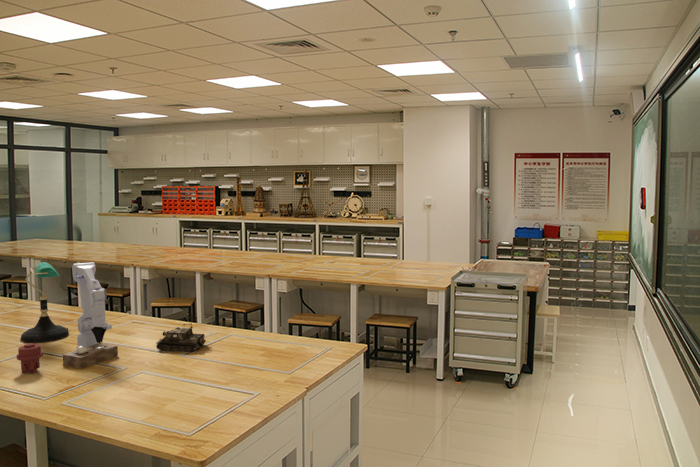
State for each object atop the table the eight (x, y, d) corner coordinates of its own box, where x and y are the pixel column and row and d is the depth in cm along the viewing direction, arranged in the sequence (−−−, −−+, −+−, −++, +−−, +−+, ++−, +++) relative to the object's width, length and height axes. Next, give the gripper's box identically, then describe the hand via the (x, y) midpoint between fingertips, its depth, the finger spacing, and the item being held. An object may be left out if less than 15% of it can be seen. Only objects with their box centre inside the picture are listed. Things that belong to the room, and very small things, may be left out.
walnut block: (63, 365, 239) (62, 354, 238) (99, 352, 257) (99, 342, 256) (81, 368, 234) (81, 357, 233) (117, 356, 252) (117, 345, 252)
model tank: (166, 344, 273) (166, 315, 272) (208, 345, 271) (207, 316, 270) (155, 351, 260) (154, 322, 259) (198, 352, 258) (198, 323, 257)
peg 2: (93, 357, 249) (93, 347, 248) (100, 355, 252) (100, 345, 252) (99, 358, 247) (99, 349, 247) (106, 356, 251) (106, 346, 250)
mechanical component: (32, 366, 236) (49, 369, 233) (11, 374, 227) (28, 376, 223) (31, 340, 235) (47, 342, 232) (10, 346, 226) (27, 348, 222)
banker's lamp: (71, 339, 280) (68, 265, 277) (21, 346, 267) (17, 269, 264) (66, 328, 302) (63, 260, 299) (19, 334, 289) (15, 263, 286)
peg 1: (74, 357, 239) (74, 347, 239) (82, 355, 243) (82, 345, 243) (80, 358, 238) (80, 348, 237) (88, 356, 242) (88, 346, 241)
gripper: (80, 314, 248) (81, 342, 249) (102, 317, 242) (103, 346, 243) (93, 311, 254) (94, 338, 255) (114, 314, 248) (115, 342, 249)
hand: (99, 342), depth 249 cm, fingers closed
